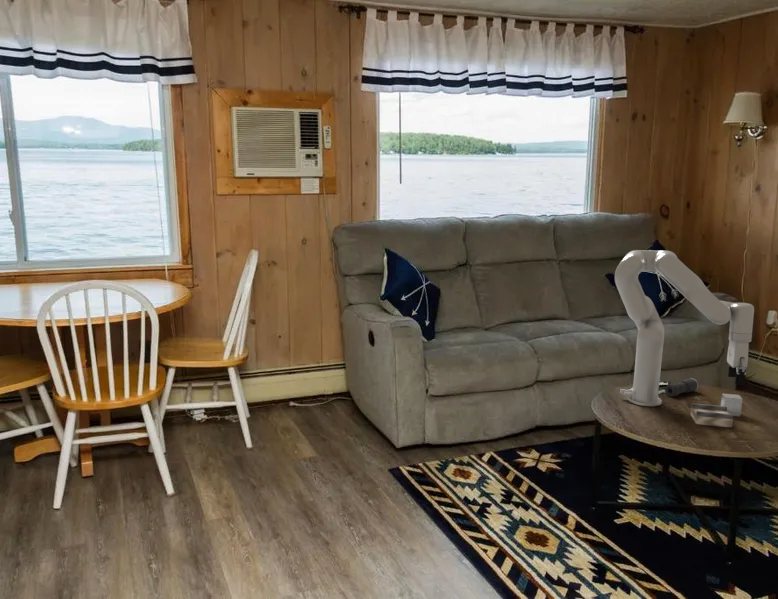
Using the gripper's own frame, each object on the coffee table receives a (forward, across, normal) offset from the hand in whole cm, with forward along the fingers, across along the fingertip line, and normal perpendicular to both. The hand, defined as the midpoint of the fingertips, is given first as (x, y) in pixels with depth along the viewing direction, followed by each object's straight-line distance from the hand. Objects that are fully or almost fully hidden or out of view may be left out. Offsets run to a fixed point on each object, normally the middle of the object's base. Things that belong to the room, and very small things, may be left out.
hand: (736, 380), depth 254 cm
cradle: (+13, +10, -10) cm, 19 cm away
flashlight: (+13, -21, -15) cm, 29 cm away
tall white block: (+13, 0, -1) cm, 13 cm away
